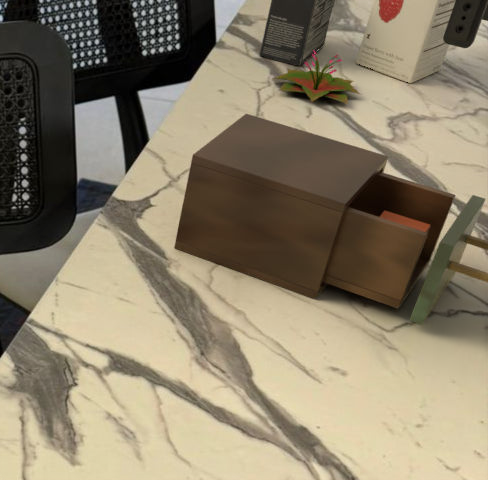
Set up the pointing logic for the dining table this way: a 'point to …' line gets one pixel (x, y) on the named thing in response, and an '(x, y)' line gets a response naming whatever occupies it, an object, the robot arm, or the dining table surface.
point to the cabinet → (272, 201)
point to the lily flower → (317, 82)
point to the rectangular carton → (406, 38)
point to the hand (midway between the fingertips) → (470, 31)
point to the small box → (295, 29)
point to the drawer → (402, 244)
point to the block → (405, 221)
